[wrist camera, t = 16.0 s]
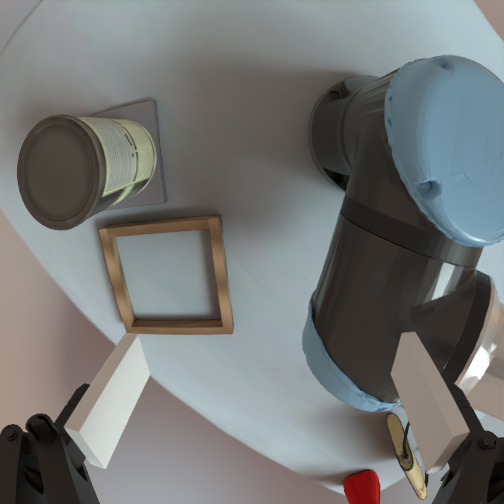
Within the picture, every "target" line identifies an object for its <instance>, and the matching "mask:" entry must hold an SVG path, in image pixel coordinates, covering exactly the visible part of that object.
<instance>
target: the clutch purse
mask: <svg viewBox="0 0 504 504" xmlns="http://www.w3.org/2000/svg"><path fill="white" fill-rule="evenodd" d="M409 425H410V423H409V421H408V423H407V426H406V429H405V432H404V429H403V426H402V424H401V421H400V419H399V418H398V416H397V415H396V414H393V413H391V414H389V415H388V417H387V427H388V431H389V434H390V437H391V440H392V443H393V446H394V449H395V453H396V456H397V459H398V462H399V464H400V466H401V468H402V469H403V471H404V473H405V475H406V476H407V478H408V480H409V482H410V484H411V485H412V487H413V489H414V491H415V493H416V495H417V496H418V498H419V499H421V500H424V499H425V498H426V496H427V489H426V488H427V484H428V474H429V473H428V474H426V471H425V482H424V479H423V476H422V473H421V470H420V467H419V464H418V462H417V459H416V458H415V455H414V453H413V450H412V448H411V446H410V443H409V441H408V439H407V434H408V429H409Z"/></svg>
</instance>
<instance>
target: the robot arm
mask: <svg viewBox="0 0 504 504" xmlns="http://www.w3.org/2000/svg"><path fill="white" fill-rule="evenodd" d="M308 134H309V144H310V149H311V153H312V156H313V158H314V160H315V163H316V164H317V166H318V168H319V169H320V171H321V172H322V174H323V175H324V176H325V177H326V178H327V179H328V180H329V181H330V182H331V183H332V184H333V185H335V186H336V187H337V188H339V189H340V190H342V191H343V192H345V197H344V200H343V204H342V208H341V210H340V213H339V216H338V220H337V223H336V227H335V230H334V234H333V237H332V240H331V244H330V247H329V250H328V254H327V257H326V260H325V263H324V266H323V270H322V273H321V276H320V279H319V282H318V285H317V288H316V290H315V291H314V292H313V294H312V296H311V299H310V302H309V308H308V317H307V321H306V324H305V327H304V331H303V336H302V346H303V351H304V353H305V355H306V361H307V364H308V366H309V368H310V370H311V371H312V373H313V375H314V376H315V378H316V379H317V380H318V381H319V383H320V384H321V385H322V386H323V387H324V388H325V389H326V390H327V391H328V392H330V393H331V394H332V395H333V396H334V397H336V398H337V399H339V400H340V401H342V402H344V403H345V404H347V405H349V406H351V407H354V408H357V409H360V410H363V411H368V412H374V411H376V410H377V409H379V410H380V411H382V412H383V411H389V410H392V409H394V408H396V407H397V406H399V405H401V404H403V407H404V410H405V412H406V415H407V418H408V421H409V423H410V426H411V429H412V432H413V435H414V437H415V440H416V443H417V446H418V449H419V452H420V455H421V458H422V461H423V464H424V467H425V471H426V474H428V473H432V472H435V471H439V470H442V469H443V468H444V466H445V465H446V464H447V463H448V464H449V467H450V469H449V470H448V472H447V473H446V474H445V475H444V476H443V477H442V479H441V481H443V483H442V485H441V487H440V489H439V491H438V493H437V495H436V497H435V499H434V500H433V502H432V504H504V437H501V438H498V437H497V436H496V435H495V434H494V433H492V432H490V431H485V430H484V429H483V427H482V425H481V423H480V421H479V419H478V418H477V416H476V414H475V412H474V410H473V409H476V410H478V411H480V412H482V413H485V414H487V415H490V416H492V417H494V418H496V419H499V420H501V421H504V304H502V303H501V302H500V301H499V297H498V293H497V290H496V287H495V283H494V280H493V278H491V277H490V276H489V275H486V274H484V273H482V272H480V271H478V270H476V266H477V263H478V261H479V258H480V256H481V253H482V250H483V247H484V246H487V245H493V244H495V243H498V242H500V241H502V240H504V83H503V82H502V81H501V80H500V79H499V78H498V77H497V76H496V75H495V74H494V73H493V72H491V71H490V70H489V69H487V68H486V67H484V66H483V65H481V64H479V63H477V62H475V61H473V60H471V59H468V58H464V57H461V56H455V55H442V56H437V57H432V58H429V59H428V58H427V59H417V60H414V61H413V62H409V63H407V64H405V65H403V66H402V67H401V68H399V69H397V70H395V71H393V72H391V73H389V74H387V75H385V76H383V77H381V78H380V77H376V76H355V77H351V78H348V79H345V80H343V81H341V82H339V83H337V84H335V85H334V86H333V87H331V88H330V89H329V90H327V91H326V92H325V93H324V94H323V95H322V96H321V98H320V99H319V100H318V102H317V103H316V105H315V107H314V109H313V112H312V114H311V118H310V122H309V132H308ZM149 376H150V372H149V369H148V366H147V363H146V360H145V357H144V353H143V350H142V346H141V343H140V339H139V336H138V335H136V334H125V335H124V336H123V338H122V339H121V340H120V342H119V343H118V345H117V346H116V348H115V349H114V351H113V352H112V353H111V355H110V356H109V358H108V359H107V361H106V362H105V364H104V365H103V367H102V368H101V370H100V371H99V373H98V374H97V376H96V377H95V379H94V380H93V382H92V383H91V385H89V384H83V385H82V386H81V387H79V388H78V389H77V390H76V391H75V392H74V394H73V396H72V397H71V399H70V400H69V401H68V403H67V405H66V406H65V407H64V409H63V410H62V412H61V414H60V415H59V417H58V418H57V420H56V421H55V423H53V421H52V420H51V418H50V417H49V416H48V415H46V414H42V413H41V414H36V415H33V416H32V417H31V418H29V419H28V421H27V423H26V427H25V428H26V429H27V431H28V432H29V433H27V432H23V431H22V429H21V428H20V427H19V426H18V425H15V424H12V425H8V426H6V427H5V428H4V429H3V430H2V432H1V434H0V504H100V503H99V501H98V498H97V496H96V493H95V491H94V488H93V486H92V483H91V480H90V478H89V475H88V472H87V469H86V467H85V465H84V463H83V462H84V460H85V458H87V459H88V461H89V462H90V463H91V464H92V465H95V466H98V467H101V468H104V469H106V467H107V465H108V463H109V461H110V458H111V456H112V454H113V452H114V449H115V447H116V445H117V443H118V441H119V439H120V436H121V434H122V432H123V430H124V428H125V426H126V423H127V421H128V419H129V417H130V415H131V413H132V411H133V409H134V407H135V405H136V402H137V400H138V398H139V396H140V394H141V392H142V390H143V388H144V386H145V384H146V382H147V380H148V378H149Z"/></svg>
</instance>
